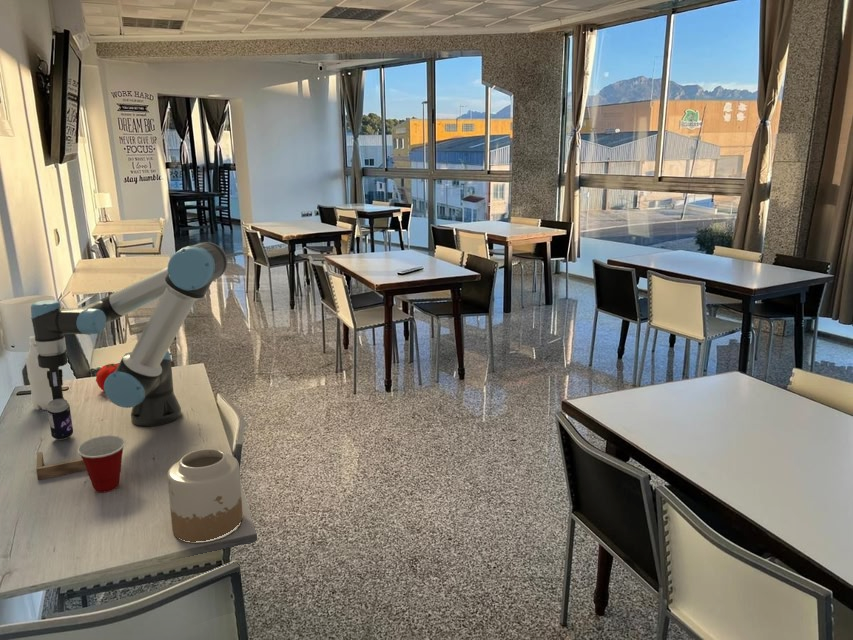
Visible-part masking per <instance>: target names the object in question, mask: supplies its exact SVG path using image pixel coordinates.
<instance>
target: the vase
mask: <svg viewBox="0 0 853 640" xmlns="http://www.w3.org/2000/svg"><path fill="white" fill-rule="evenodd" d="M166 475H167V477H166V478H167V488H168V499H169V509H170V510H169V511H170V518H171V527H172V528H171V529H172V533H173V535H174V537H175V538H177V537H178V538H180V539H182V540H185V541H190V542H196V541H206V540H210V539H214V538H217V537H219V536H222V535H224V534H226V533H228V532H230V531H231V530H233V529H234V528H235V527H236V526H237V525H239V523H240V522H241V520H242V521H243V518H242V516H243V502H242V501H243V500H242V499H243V498H242V489H241V487H242V486H241V472H240V463H239V461H238V459H237V458H236V457H235V456H233V455H231V454H228V453H225V452H224V451H223V450H220V449H217V448H202V449H197V450H193V451H191V452H188V453H186V454H185V455H183V456H182V457H181V458H180V460H178V461H176V463H173V464H172V465H171V466H170V468H169V469H168V471H167V474H166ZM243 517H244V516H243ZM178 538H177V539H178Z"/></svg>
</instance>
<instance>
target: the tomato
mask: <svg viewBox="0 0 853 640" xmlns="http://www.w3.org/2000/svg"><path fill="white" fill-rule="evenodd" d="M119 363H120V362H119ZM119 363H118V362H117V363H108V364H105V365H103V366H102V367H101V369H99V370H98V371H97V373H96V379H95V381H96V383H97V386H98V387H99V388H100V389H101V390H102V391H104V382H105V380H106V378H107V377H108V376H109V375H110V374H111V373H113V372H115V370H116V369H117V367H118V365H119ZM104 392H105V391H104Z"/></svg>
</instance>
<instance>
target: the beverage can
mask: <svg viewBox="0 0 853 640" xmlns="http://www.w3.org/2000/svg"><path fill="white" fill-rule="evenodd" d="M70 406H71V405H70V403H69V402H68V401H67V399H65V398H64V399H55V400H52V401H51V402H49V404H48V407H47V410H46V411H47V415H48V422H49V428H50V434H51V437H52V438H53V439H55V440H58V441H63V440H66V439H69V438H70V436H72V435H73V433H74V428H73V427H74V426H73V420H72V413H71V407H70Z"/></svg>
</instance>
